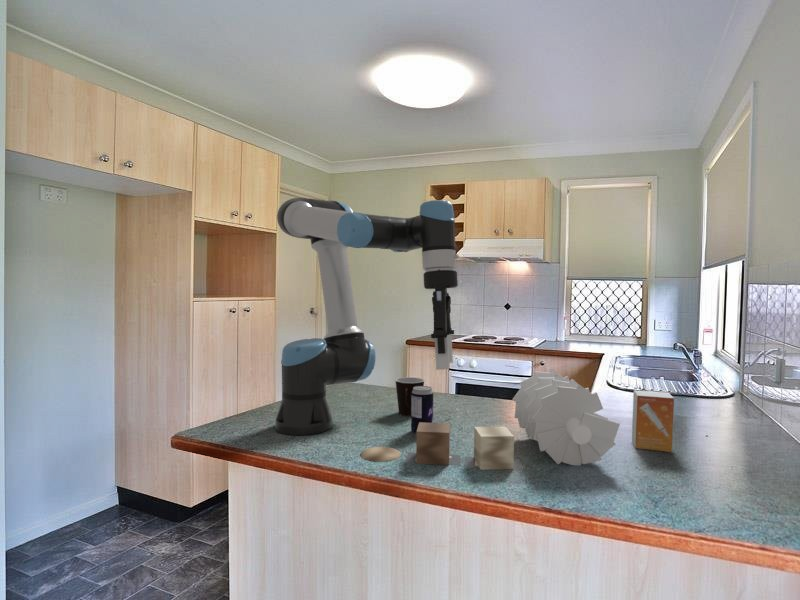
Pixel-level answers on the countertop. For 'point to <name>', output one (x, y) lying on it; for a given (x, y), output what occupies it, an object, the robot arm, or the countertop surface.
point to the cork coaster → (380, 454)
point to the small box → (652, 420)
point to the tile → (452, 459)
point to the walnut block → (433, 443)
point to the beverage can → (421, 406)
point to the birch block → (493, 448)
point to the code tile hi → (472, 463)
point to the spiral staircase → (564, 418)
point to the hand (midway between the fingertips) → (445, 366)
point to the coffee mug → (406, 393)
